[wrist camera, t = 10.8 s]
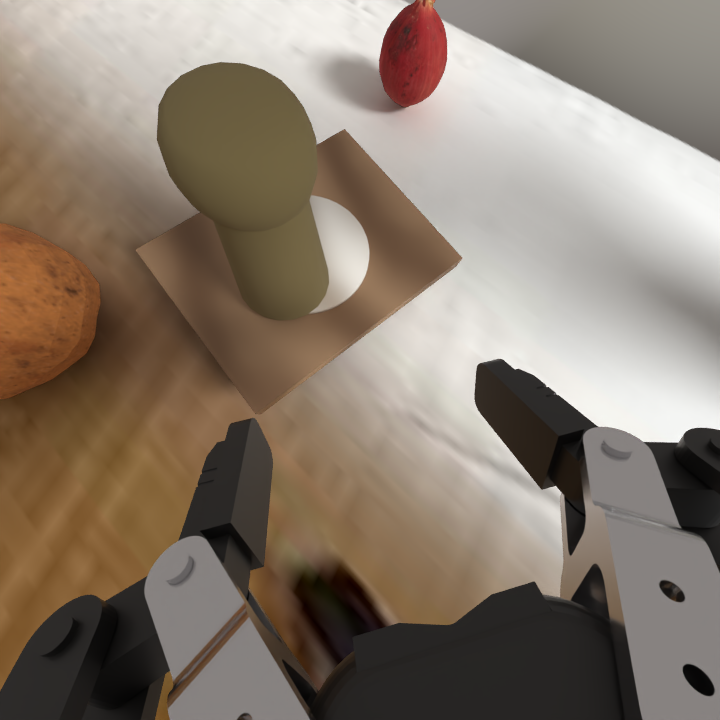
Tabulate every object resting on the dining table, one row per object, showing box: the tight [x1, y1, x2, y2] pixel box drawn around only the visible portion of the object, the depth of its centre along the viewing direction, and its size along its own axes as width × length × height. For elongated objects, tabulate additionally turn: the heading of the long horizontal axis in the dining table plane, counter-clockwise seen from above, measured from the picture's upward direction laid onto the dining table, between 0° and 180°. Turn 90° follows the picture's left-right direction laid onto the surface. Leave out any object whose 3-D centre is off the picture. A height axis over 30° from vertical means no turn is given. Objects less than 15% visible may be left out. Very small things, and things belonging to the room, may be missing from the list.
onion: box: [379, 0, 447, 107], centre depth 25 cm, size 6×6×8 cm
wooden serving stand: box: [136, 129, 462, 414], centre depth 22 cm, size 18×14×5 cm
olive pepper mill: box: [157, 62, 329, 320], centre depth 14 cm, size 6×6×11 cm
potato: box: [0, 224, 101, 399], centre depth 18 cm, size 9×11×8 cm
